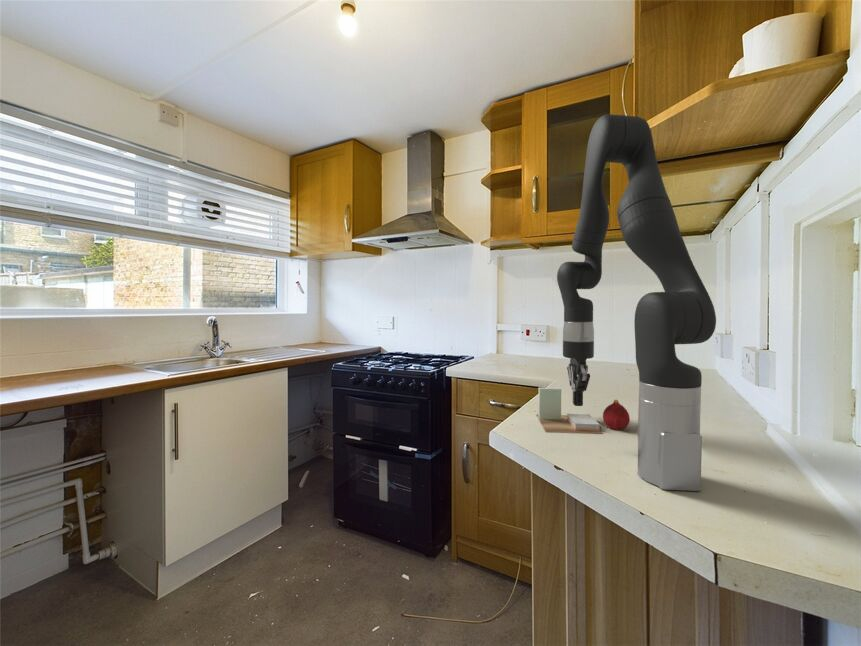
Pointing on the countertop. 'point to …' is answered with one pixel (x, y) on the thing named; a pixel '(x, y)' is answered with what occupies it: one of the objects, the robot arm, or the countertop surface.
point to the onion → (616, 416)
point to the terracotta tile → (583, 422)
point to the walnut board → (562, 426)
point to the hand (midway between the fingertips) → (577, 405)
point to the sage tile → (549, 403)
